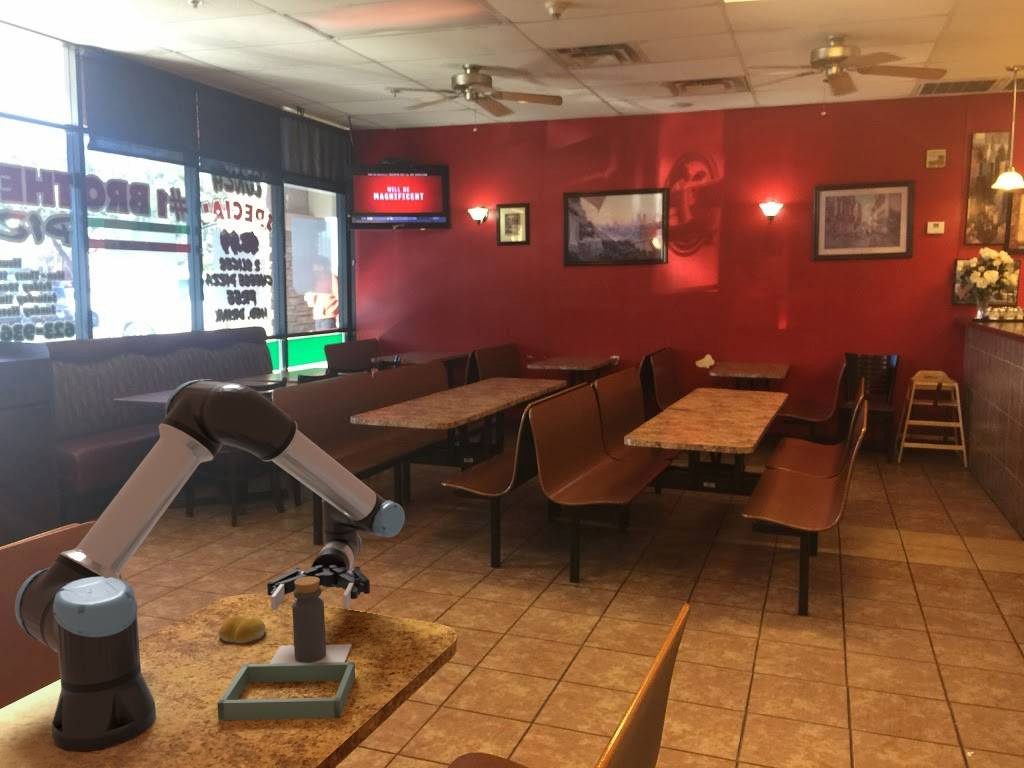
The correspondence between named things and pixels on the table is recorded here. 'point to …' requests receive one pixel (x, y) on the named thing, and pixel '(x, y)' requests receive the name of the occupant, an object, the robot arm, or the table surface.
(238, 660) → the table surface
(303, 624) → the bottle
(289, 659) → the tile
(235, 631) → the bread roll
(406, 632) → the table surface
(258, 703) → the green rectangular frame
